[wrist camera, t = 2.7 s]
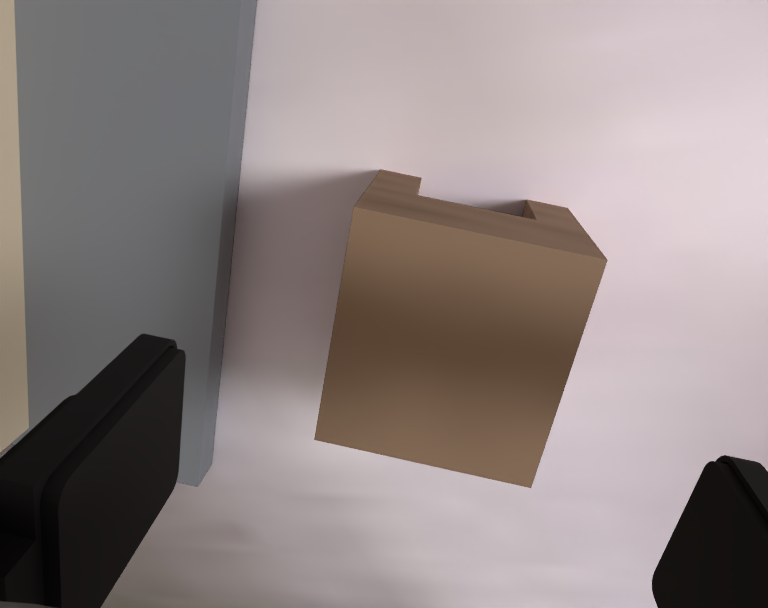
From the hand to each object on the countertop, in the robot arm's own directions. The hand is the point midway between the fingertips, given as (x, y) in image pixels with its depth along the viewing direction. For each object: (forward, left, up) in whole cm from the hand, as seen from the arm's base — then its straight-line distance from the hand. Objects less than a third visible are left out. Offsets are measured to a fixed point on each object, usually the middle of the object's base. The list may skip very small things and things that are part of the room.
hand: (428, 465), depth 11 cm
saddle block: (-1, 0, -12) cm, 12 cm away
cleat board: (-1, +16, -12) cm, 20 cm away
